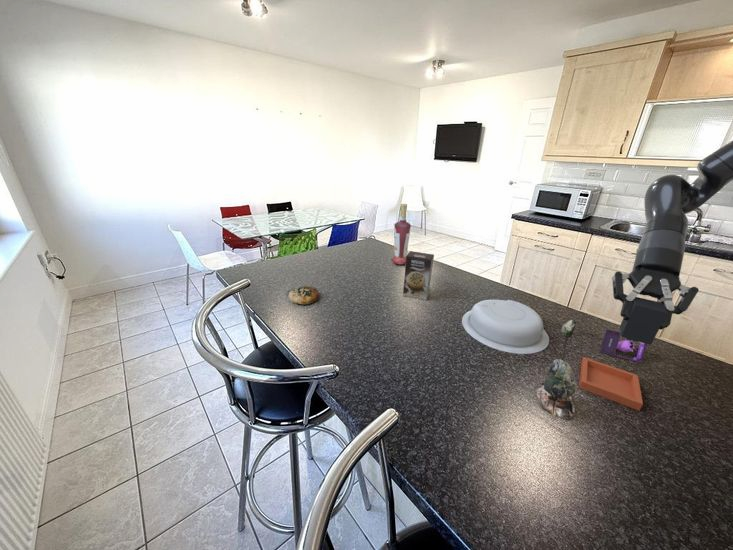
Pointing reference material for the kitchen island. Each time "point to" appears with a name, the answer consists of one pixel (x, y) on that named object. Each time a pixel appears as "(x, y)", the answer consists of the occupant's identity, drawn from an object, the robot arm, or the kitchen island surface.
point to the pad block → (643, 320)
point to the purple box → (620, 345)
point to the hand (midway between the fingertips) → (643, 323)
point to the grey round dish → (506, 326)
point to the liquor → (401, 237)
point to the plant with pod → (559, 383)
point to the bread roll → (304, 295)
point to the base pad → (611, 383)
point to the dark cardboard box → (418, 275)
